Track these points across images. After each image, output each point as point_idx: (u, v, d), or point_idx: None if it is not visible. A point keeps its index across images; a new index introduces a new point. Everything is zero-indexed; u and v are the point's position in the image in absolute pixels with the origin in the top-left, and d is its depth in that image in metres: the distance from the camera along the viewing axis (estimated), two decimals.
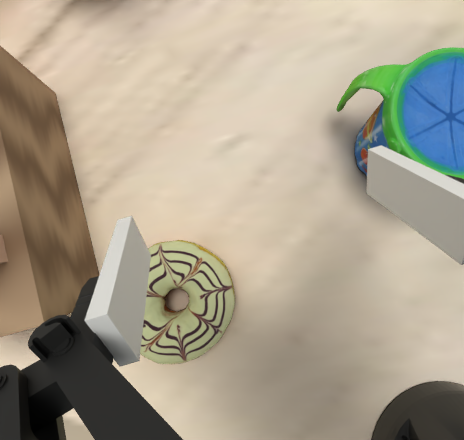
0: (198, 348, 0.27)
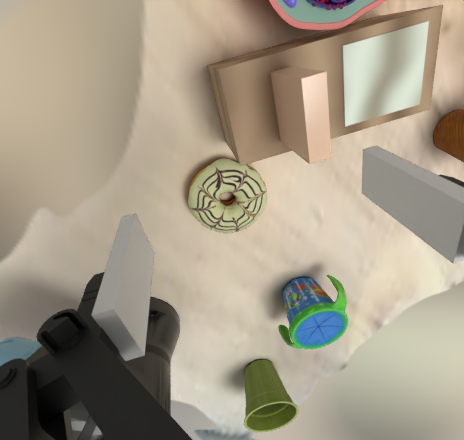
0: (201, 217, 0.43)
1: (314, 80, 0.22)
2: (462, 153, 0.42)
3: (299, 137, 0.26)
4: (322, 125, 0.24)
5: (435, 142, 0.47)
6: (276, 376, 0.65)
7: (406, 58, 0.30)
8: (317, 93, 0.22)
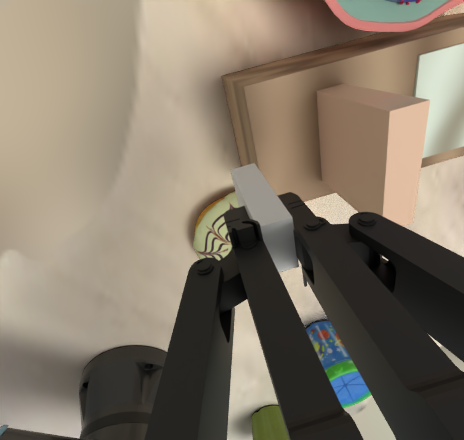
0: None
1: (409, 113, 0.14)
2: None
3: (364, 190, 0.18)
4: (409, 179, 0.15)
5: None
6: None
7: None
8: (410, 133, 0.14)
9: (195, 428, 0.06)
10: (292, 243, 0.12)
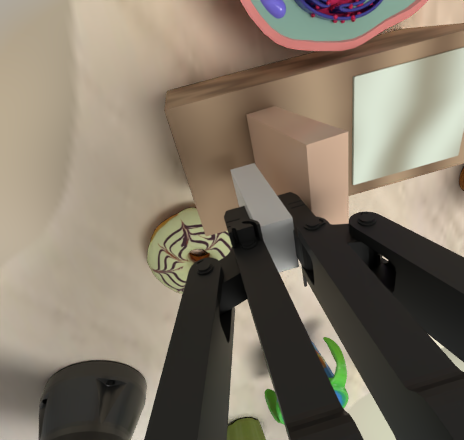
0: (164, 280, 0.33)
1: (328, 146, 0.12)
2: None
3: None
4: (337, 212, 0.14)
5: (461, 185, 0.38)
6: None
7: (445, 95, 0.21)
8: (332, 166, 0.13)
9: (195, 428, 0.06)
10: (292, 243, 0.12)
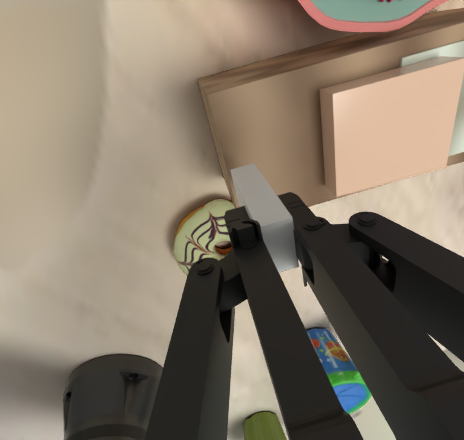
0: None
1: None
2: None
3: (424, 148, 0.19)
4: None
5: None
6: (281, 435, 0.56)
7: None
8: None
9: (195, 428, 0.06)
10: (292, 243, 0.12)
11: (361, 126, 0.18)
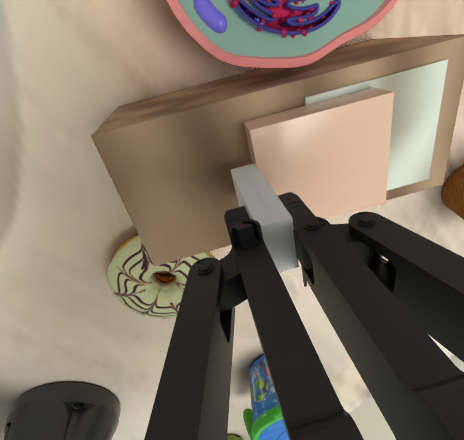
0: (127, 303, 0.32)
1: None
2: None
3: (359, 184, 0.18)
4: None
5: (444, 200, 0.36)
6: None
7: (409, 115, 0.19)
8: None
9: (195, 428, 0.06)
10: (292, 243, 0.12)
11: (286, 162, 0.17)
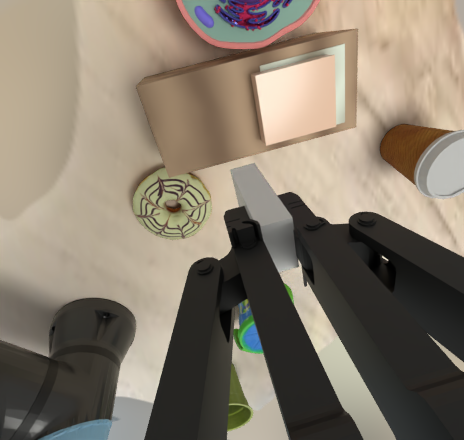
0: (146, 224, 0.44)
1: None
2: (401, 168, 0.43)
3: (319, 112, 0.30)
4: None
5: (382, 155, 0.48)
6: (234, 378, 0.66)
7: None
8: None
9: (195, 429, 0.06)
10: (292, 243, 0.12)
11: (276, 97, 0.29)
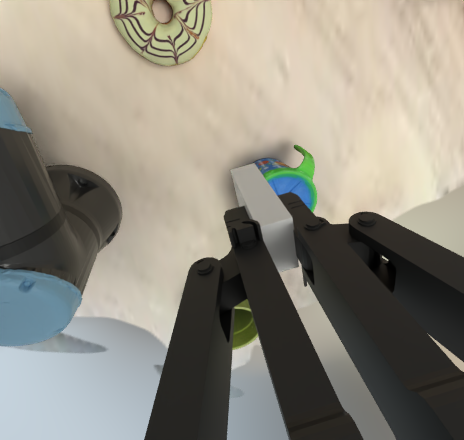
0: (127, 31, 0.34)
1: None
2: None
3: None
4: None
5: None
6: None
7: None
8: None
9: (194, 429, 0.06)
10: (292, 243, 0.12)
11: None
